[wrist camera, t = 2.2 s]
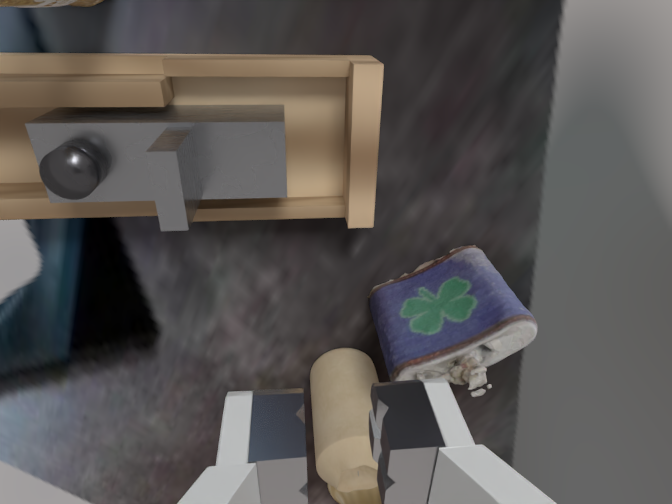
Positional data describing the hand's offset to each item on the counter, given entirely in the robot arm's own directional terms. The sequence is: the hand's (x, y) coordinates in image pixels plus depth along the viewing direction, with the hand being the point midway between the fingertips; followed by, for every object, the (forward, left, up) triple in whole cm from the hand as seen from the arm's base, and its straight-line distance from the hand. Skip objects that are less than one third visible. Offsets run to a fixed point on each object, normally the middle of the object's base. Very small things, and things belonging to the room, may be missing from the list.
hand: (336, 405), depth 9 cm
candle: (+20, +3, -21) cm, 29 cm away
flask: (+11, +9, -21) cm, 26 cm away
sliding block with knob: (0, -7, -20) cm, 21 cm away
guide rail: (0, -9, -21) cm, 23 cm away
